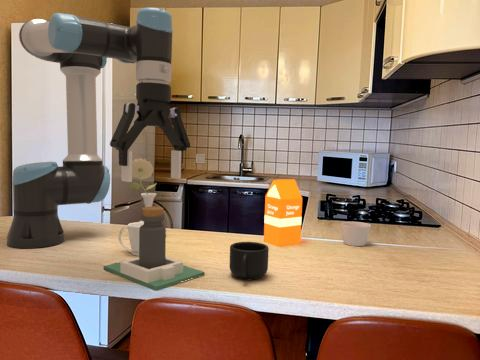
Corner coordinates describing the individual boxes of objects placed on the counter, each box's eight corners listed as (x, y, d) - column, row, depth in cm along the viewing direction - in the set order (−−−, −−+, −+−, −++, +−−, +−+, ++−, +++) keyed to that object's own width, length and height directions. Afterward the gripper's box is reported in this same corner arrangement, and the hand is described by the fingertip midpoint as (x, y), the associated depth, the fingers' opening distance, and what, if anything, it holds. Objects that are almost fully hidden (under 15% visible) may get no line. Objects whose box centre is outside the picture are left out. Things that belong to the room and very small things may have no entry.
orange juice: (300, 243, 131) (303, 180, 129) (279, 247, 126) (281, 181, 124) (284, 238, 138) (286, 177, 136) (263, 241, 133) (265, 178, 131)
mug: (233, 268, 104) (234, 240, 103) (269, 271, 102) (270, 243, 101) (222, 284, 92) (223, 252, 91) (263, 288, 90) (264, 256, 90)
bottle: (134, 272, 96) (134, 207, 94) (155, 267, 100) (155, 205, 99) (149, 278, 92) (149, 211, 90) (170, 272, 96) (171, 208, 95)
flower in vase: (171, 234, 139) (172, 158, 137) (157, 242, 128) (158, 160, 125) (135, 231, 142) (136, 157, 139) (118, 238, 131) (118, 158, 128)
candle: (358, 239, 139) (359, 221, 138) (375, 246, 130) (376, 226, 130) (335, 241, 136) (336, 222, 135) (350, 248, 127) (351, 227, 127)
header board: (103, 269, 100) (103, 255, 100) (151, 257, 111) (151, 245, 110) (156, 290, 87) (156, 275, 87) (204, 275, 98) (204, 261, 97)
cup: (145, 258, 110) (145, 227, 110) (112, 254, 113) (112, 224, 112) (157, 251, 117) (158, 223, 116) (125, 248, 120) (126, 220, 119)
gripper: (113, 74, 80) (113, 184, 82) (206, 88, 99) (204, 178, 101) (92, 77, 85) (92, 181, 87) (184, 90, 104) (183, 175, 106)
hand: (152, 179), depth 94 cm, fingers open, 13 cm apart
